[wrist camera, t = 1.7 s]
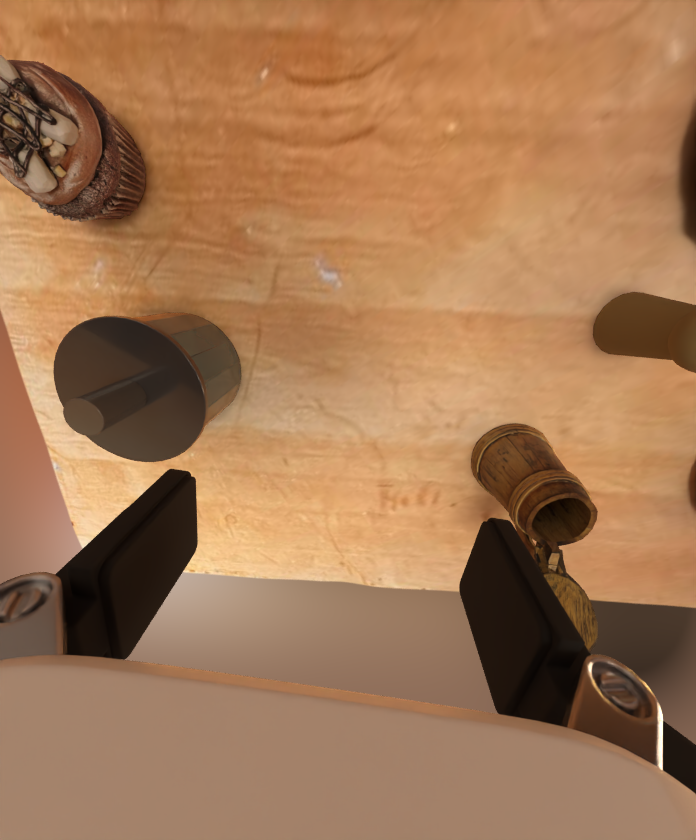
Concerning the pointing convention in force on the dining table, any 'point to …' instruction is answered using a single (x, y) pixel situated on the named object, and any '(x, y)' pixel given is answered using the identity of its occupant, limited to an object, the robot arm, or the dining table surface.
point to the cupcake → (65, 146)
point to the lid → (130, 388)
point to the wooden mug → (540, 508)
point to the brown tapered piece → (648, 328)
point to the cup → (205, 355)
